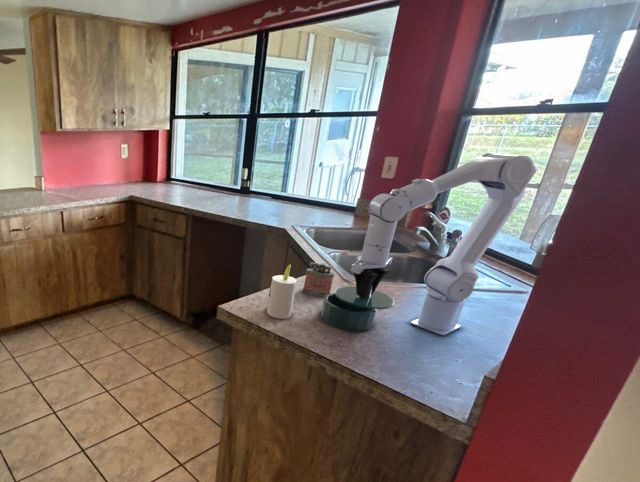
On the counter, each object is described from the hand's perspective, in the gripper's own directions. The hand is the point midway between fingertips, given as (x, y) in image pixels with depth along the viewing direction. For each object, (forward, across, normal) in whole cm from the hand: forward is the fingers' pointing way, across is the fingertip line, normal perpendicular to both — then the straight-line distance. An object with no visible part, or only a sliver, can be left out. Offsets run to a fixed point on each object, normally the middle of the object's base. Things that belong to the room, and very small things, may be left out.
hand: (364, 294), depth 105 cm
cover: (+1, 0, 0) cm, 1 cm away
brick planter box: (+9, -9, -19) cm, 23 cm away
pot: (+9, 0, -3) cm, 9 cm away
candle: (+9, +13, -15) cm, 22 cm away
